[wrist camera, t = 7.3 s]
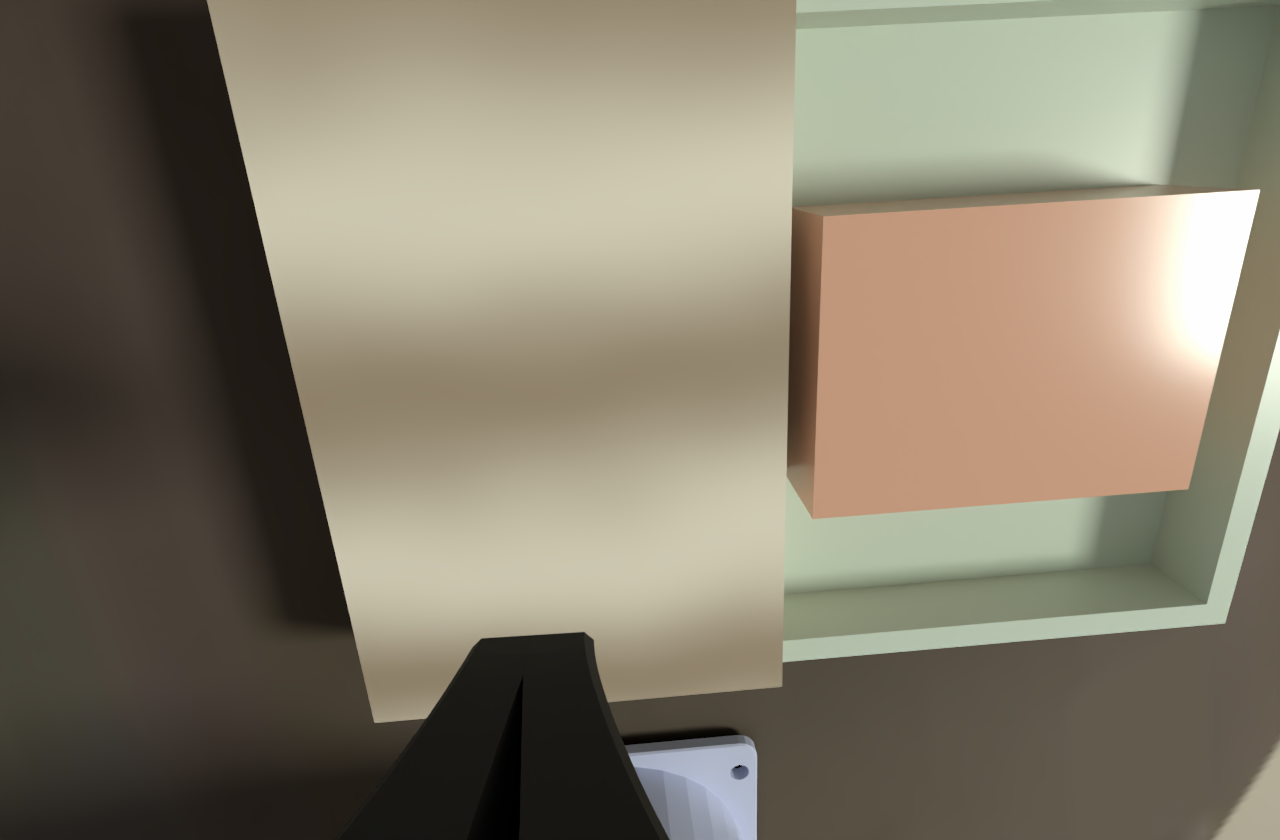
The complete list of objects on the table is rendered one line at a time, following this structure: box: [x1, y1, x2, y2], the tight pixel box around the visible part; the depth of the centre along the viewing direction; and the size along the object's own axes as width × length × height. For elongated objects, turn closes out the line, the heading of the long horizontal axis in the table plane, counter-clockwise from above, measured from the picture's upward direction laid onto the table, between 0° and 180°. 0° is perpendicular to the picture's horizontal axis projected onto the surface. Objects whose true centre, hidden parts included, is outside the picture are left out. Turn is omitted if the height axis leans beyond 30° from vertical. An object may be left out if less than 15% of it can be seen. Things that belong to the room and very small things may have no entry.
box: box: [783, 0, 1280, 662], centre depth 16 cm, size 14×11×2 cm
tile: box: [786, 185, 1260, 519], centre depth 15 cm, size 6×8×2 cm
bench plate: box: [207, 0, 796, 723], centre depth 15 cm, size 14×9×3 cm, turn 3°
